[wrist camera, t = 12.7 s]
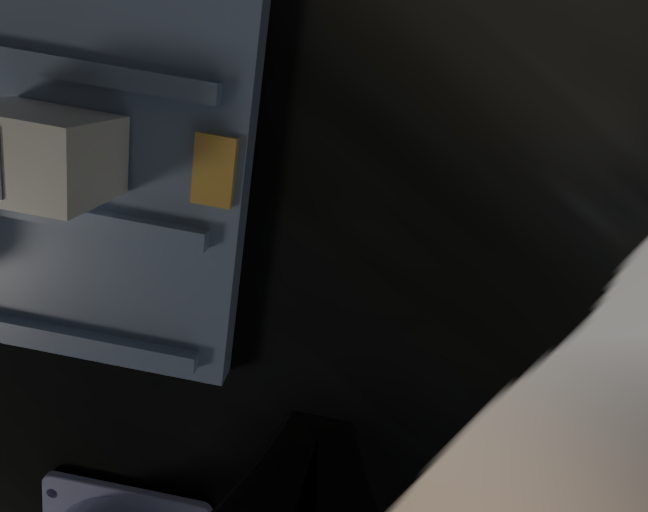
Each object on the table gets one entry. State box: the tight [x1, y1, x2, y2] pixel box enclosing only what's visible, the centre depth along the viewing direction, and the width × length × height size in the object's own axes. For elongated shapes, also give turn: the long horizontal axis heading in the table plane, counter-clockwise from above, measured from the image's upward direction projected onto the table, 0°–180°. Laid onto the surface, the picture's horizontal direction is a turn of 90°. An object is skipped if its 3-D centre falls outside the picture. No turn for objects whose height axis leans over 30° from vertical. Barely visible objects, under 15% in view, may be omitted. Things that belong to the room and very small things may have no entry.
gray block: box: [0, 96, 130, 221], centre depth 16 cm, size 3×4×4 cm, turn 81°
